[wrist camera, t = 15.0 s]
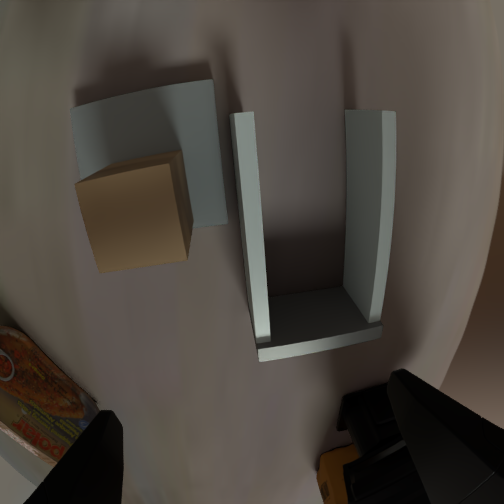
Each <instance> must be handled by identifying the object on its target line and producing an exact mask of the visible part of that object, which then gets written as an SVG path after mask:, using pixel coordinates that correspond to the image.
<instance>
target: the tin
mask: <svg viewBox="0 0 504 504" xmlns="http://www.w3.org/2000/svg"><path fill="white" fill-rule="evenodd" d="M99 411H100V410H99V409H98V407H97V405H96V404H95V402H94V401H93V400H92V398H91V397H90V396H89V395H88V394H87V393H86V392H85V391H84V390H83V389H81V388H80V387H79V386H78V385H77V384H76V383H74V382H73V381H72V380H71V379H70V378H69V377H68V376H67V375H66V374H65V373H64V372H62V371H61V370H60V369H59V368H58V367H57V366H56V365H55V364H54V363H53V362H52V361H51V360H50V359H49V358H48V357H47V356H46V355H45V354H44V353H43V352H42V351H41V350H40V349H39V347H38V346H37V345H36V344H35V343H34V342H33V341H32V340H31V339H30V338H29V337H27V336H26V335H25V334H24V333H22V332H20V331H19V330H17V329H15V328H12V327H8V326H0V429H1V430H2V431H4V432H5V433H6V434H7V435H9V436H10V437H11V438H12V439H14V440H15V441H16V442H18V443H19V444H20V445H22V446H23V447H25V448H26V449H27V450H29V451H30V452H31V453H33V454H34V455H36V456H37V457H39V458H40V459H42V460H43V461H45V462H46V463H48V464H49V465H51V466H53V467H54V466H55V465H56V464H57V463H58V461H59V460H60V459H61V458H62V456H63V455H64V454H65V453H66V452H67V450H68V449H69V448H70V447H71V445H72V444H73V443H74V442H75V440H76V439H77V438H78V437H79V436H80V434H81V433H82V432H83V431H84V429H85V428H86V427H87V426H88V425H89V423H90V422H91V421H92V420H93V418H94V417H95V416H96V415H97V414H98V412H99Z"/></svg>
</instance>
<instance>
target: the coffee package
mask: <svg viewBox="0 0 504 504" xmlns="http://www.w3.org/2000/svg"><path fill="white" fill-rule="evenodd" d="M358 458H359V456H358V453H357V451H356V448H355V446H354V444H351V445H349V446H347V447H341V448H337V449H334V450H333V451H329V452H326V453H324V454H322V455H321V457H320V468H319V470H318V472H317V478H316V479H317V482H318V486H319V489H320V493H321V496H322V499H323V502H324V504H347V493H346V487H345V482H344V476H343V465H344V464H346V463H350V462H352V461H354V460H356V459H358Z"/></svg>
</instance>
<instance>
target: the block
mask: <svg viewBox="0 0 504 504" xmlns="http://www.w3.org/2000/svg"><path fill="white" fill-rule="evenodd" d="M75 188H76V193H77V197H78V201H79V205H80V209H81V213H82V216H83V220H84V224H85V227H86V231H87V234H88V238H89V241H90V245H91V248H92V251H93V254H94V257H95V261H96V264H97V267H98V270H99V273H105V272H112V271H119V270H126V269H132V268H139V267H146V266H153V265H160V264H166V263H173V262H180V261H187V260H188V254H189V247H190V241H191V235H192V229H193V223H194V219H193V213H192V208H191V202H190V196H189V190H188V184H187V178H186V172H185V165H184V159H183V152H182V150H177V151H171V152H166V153H160V154H155V155H150V156H145V157H140V158H135V159H131V160H126V161H122V162H117V163H113V164H110V165H108V166H106V167H104V168H103V169H101V170H99V171H97V172H95V173H93V174H92V175H90V176H88V177H86V178H84V179H83V180H81V181H79V182H77V183H76V184H75Z"/></svg>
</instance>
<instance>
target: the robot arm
mask: <svg viewBox="0 0 504 504" xmlns="http://www.w3.org/2000/svg"><path fill="white" fill-rule="evenodd" d="M336 428H337V431H343V430H347V429H348V431H349V433H350V436H351V438H352V441H353V443H354V446H355V448H356V451H357V453H358V456H359V458H358V459H356V460H354V461H352V462H350V463H346V464H344V465H343V476H344V482H345V487H346V493H347V504H504V429H502V428H500V427H498V426H497V425H495V424H493V423H491V422H490V421H488V420H486V419H484V418H481V416H480V415H478V414H476V413H475V412H473V411H472V410H470V409H468V408H467V407H465V406H463V405H462V404H460V403H459V402H457V401H455V400H454V399H452V398H450V397H449V396H447V395H446V394H444V393H442V392H441V391H439V390H438V389H436V388H434V387H433V386H431V385H430V384H428V383H426V382H425V381H423V380H422V379H420V378H418V377H417V376H415V375H414V374H412V373H411V372H409V371H407V370H406V369H398V370H395V371H393V372H392V373H391V376H390V379H389V382H388V383H387V384H384V385H381V386H377V387H374V388H370V389H367V390H363V391H359V392H356V393H352V394H348V395H346V396H344V397H343V399H342V404H341V408H340V413H339V418H338V422H337V427H336ZM123 471H124V460H123V427H122V424H121V422H120V421H119V419H118V418H117V416H116V415H115V413H114V412H113V411H112V410H101V411H99V412H98V414H97V415H96V416H95V417H94V418H93V420H92V421H91V422H90V423H89V425H88V426H87V427H86V428H85V429H84V431H83V432H82V433H81V434H80V436H79V437H78V438H77V439H76V440H75V442H74V443H73V444H72V445H71V447H70V448H69V449H68V450H67V452H66V453H65V454H64V455H63V456H62V458H61V459H60V460H59V461H58V463H57V464H56V465H55V466H54V468H53V469H52V470H51V471H50V473H49V474H48V475H47V476H46V478H45V479H44V480H43V481H44V482H41V484H40V485H39V486H38V487H37V489H36V490H35V491H34V492H33V493H32V495H31V496H30V497H29V498H28V499H27V500H26V501H25V502H24V503H23V504H121V499H122V485H123Z"/></svg>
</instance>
